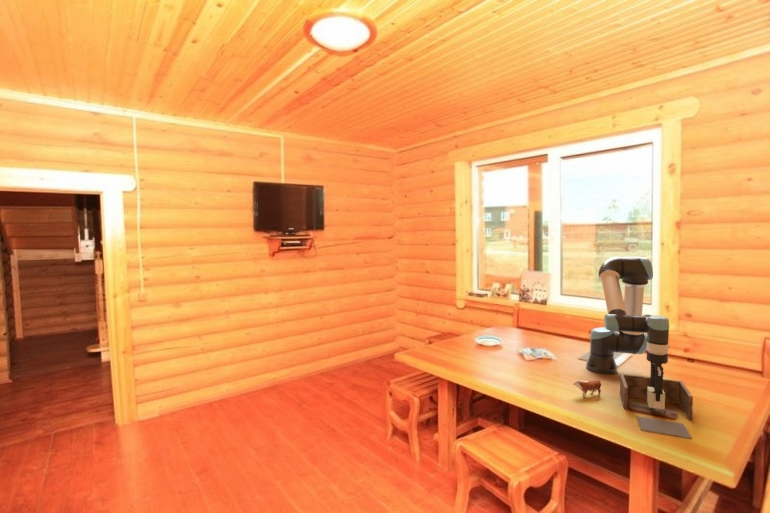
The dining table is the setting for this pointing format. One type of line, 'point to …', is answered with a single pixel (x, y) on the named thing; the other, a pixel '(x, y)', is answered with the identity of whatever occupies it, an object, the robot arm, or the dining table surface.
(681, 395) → the open box
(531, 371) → the dining table surface
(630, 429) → the dining table surface
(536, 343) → the dining table surface
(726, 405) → the dining table surface
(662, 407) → the beige block
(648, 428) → the grey mat
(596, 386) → the bull figurine
